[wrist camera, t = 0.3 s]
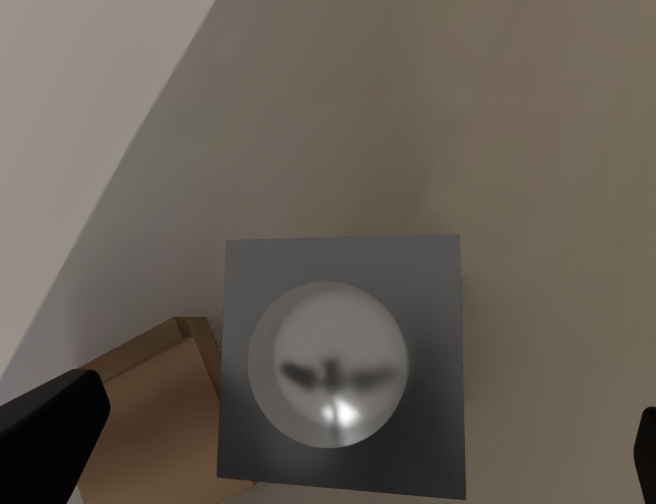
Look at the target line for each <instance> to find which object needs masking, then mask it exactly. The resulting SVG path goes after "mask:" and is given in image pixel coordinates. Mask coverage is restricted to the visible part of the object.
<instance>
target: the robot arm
mask: <svg viewBox="0 0 656 504" xmlns="http://www.w3.org/2000/svg"><path fill="white" fill-rule="evenodd" d="M110 409H111V406H110V401H109V398H108V396H107V393H106V390H105V388H104V385H103V382H102V380H101V377H100V375H99V374H98V373H97V372H96V371H95V370H91V369H72V370H70V371H68V372H66V373H64V374H62V375H60V376H58V377H56V378H54V379H52V380H50V381H48V382H46V383H44V384H43V385H41V386H39V387H37V388H35V389H33V390H31V391H29V392H27V393H25V394H23V395H21V396H19V397H17V398H15V399H13V400H11V401H9V402H7V403H5V404H3V405H2V406H0V504H67V502H68V500H69V498H70V497H71V495H72V493H73V491H74V489H75V487H76V485H77V483H78V481H79V479H80V477H81V474H82V472H83V470H84V468H85V466H86V464H87V462H88V460H89V458H90V455H91V453H92V451H93V449H94V447H95V445H96V443H97V441H98V439H99V437H100V434H101V432H102V430H103V428H104V426H105V424H106V422H107V420H108V417H109V414H110ZM634 462H635V466H636V470H637V474H638V478H639V482H640V486H641V489H642V493H643V497H644V501H645V504H656V407H648V408H646V409H645V410H644V411H643V414H642V417H641V421H640V425H639V429H638V433H637V437H636V441H635V445H634Z"/></svg>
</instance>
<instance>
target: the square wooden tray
mask: <svg viewBox="0 0 656 504" xmlns="http://www.w3.org/2000/svg"><path fill="white" fill-rule="evenodd" d="M78 369H91V370H95V371H96V372H97V373H98V374H99V375H100V377H101V380H102V382H103V385H104V388H105V390H106V393H107V396H108V398H109V401H110V406H111V409H110V414H109V417H108V420H107V422H106V424H105V426H104V428H103V430H102V432H101V434H100V437H99V439H98V441H97V443H96V445H95V447H94V449H93V451H92V453H91V455H90V458H89V460H88V462H87V464H86V466H85V468H84V470H83V472H82V474H81V477H80V479H79V481H78V483H77V484H78V487H79V490H80V493H81V496H82V499H83V502H84V504H217V503H219V502H221V501H223V500H225V499H228V498H230V497H232V496H234V495H236V494H238V493H240V492H242V491H245V490H247V489H249V488H251V487H253V486H255V485H256V484H257V483H258V482H257V481H246V480H235V479H224V478H216V475H217V452H218V428H219V404H220V380H221V354H220V352H219V350H218V347H217V345H216V342H215V340H214V338H213V335H212V333H211V330H210V328H209V326H208V323H207V321H206V318H205V317H173V318H171V319H169V320H167V321H165V322H163V323H162V324H160V325H158V326H156V327H154V328H152V329H150V330H149V331H147V332H145V333H143V334H141V335H139V336H137V337H135V338H134V339H132V340H130V341H128V342H126V343H124V344H122V345H121V346H119V347H117V348H115V349H113V350H111V351H109V352H108V353H106V354H104V355H102V356H100V357H98V358H96V359H94V360H93V361H91V362H89V363H87V364H85V365H83V366H81V367H80V368H78Z"/></svg>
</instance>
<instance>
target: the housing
mask: <svg viewBox="0 0 656 504" xmlns="http://www.w3.org/2000/svg"><path fill="white" fill-rule="evenodd" d="M216 478H224V479H235V480H246V481H257V482H269V483H280V484H291V485H302V486H313V487H325V488H336V489H347V490H358V491H369V492H380V493H392V494H403V495H414V496H425V497H436V498H447V499H459V500H466V476H465V435H464V394H463V353H462V312H461V270H460V235H420V236H379V237H338V238H296V239H255V240H226V261H225V285H224V309H223V332H222V356H221V380H220V404H219V428H218V452H217V475H216Z"/></svg>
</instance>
